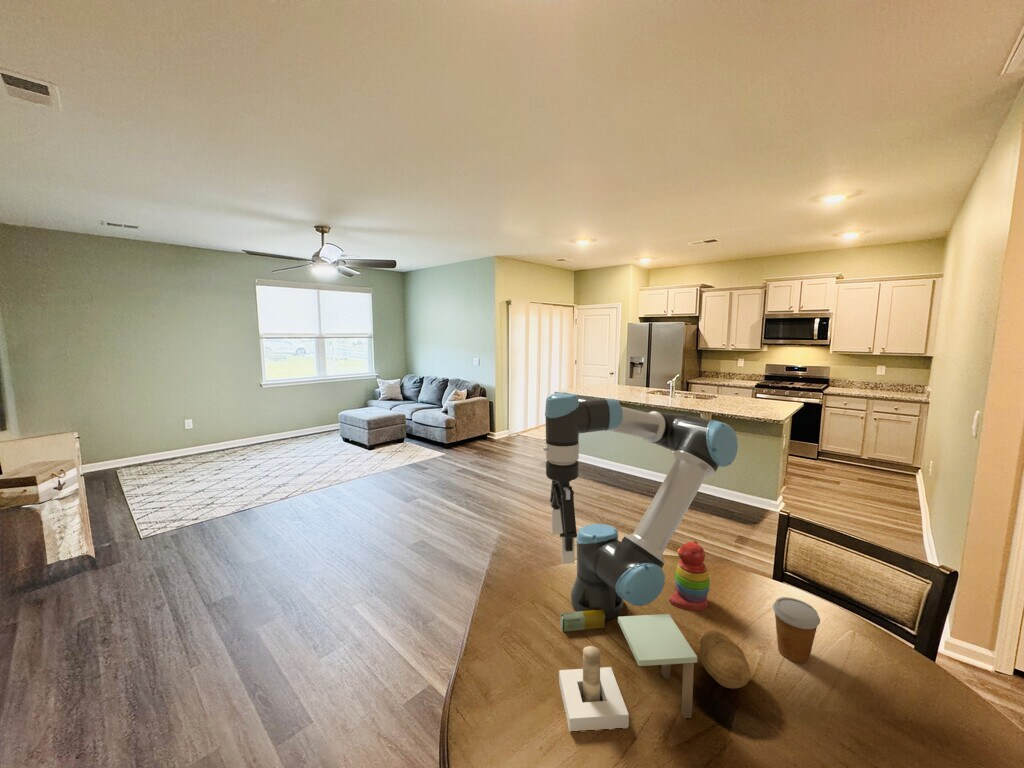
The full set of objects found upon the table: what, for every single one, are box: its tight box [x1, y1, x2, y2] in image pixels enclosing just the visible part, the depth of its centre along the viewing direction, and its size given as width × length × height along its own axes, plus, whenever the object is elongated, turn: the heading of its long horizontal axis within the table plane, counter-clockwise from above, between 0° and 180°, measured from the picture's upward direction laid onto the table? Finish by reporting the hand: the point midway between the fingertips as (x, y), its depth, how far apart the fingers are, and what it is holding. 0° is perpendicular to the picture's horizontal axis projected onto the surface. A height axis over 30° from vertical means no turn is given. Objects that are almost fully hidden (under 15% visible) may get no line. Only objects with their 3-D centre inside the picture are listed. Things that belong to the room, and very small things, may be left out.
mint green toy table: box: [617, 613, 698, 719], centre depth 89 cm, size 13×12×14 cm
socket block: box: [558, 666, 630, 733], centre depth 88 cm, size 12×12×3 cm
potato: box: [699, 629, 752, 689], centre depth 94 cm, size 10×14×8 cm
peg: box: [582, 645, 601, 702], centre depth 87 cm, size 4×4×12 cm
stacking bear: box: [668, 539, 711, 611], centre depth 121 cm, size 11×10×18 cm
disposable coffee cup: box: [772, 596, 821, 664], centre depth 100 cm, size 10×10×12 cm
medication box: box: [559, 609, 606, 633], centre depth 111 cm, size 12×3×4 cm, turn 98°
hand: (562, 547), depth 97 cm, fingers open, 13 cm apart
